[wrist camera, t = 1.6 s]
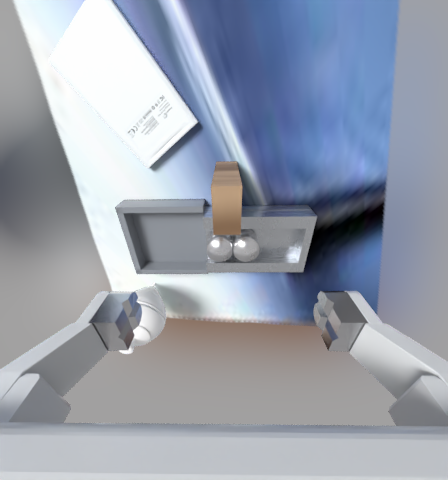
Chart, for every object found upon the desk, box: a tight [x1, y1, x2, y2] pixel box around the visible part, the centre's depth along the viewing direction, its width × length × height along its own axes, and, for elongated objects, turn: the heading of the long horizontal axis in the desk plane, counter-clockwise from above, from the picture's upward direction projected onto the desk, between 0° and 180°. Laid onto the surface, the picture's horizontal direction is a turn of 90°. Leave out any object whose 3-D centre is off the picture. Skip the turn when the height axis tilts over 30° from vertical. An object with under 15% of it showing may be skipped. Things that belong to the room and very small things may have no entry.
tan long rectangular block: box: [211, 162, 242, 235], centre depth 21 cm, size 4×2×10 cm, turn 1°
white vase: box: [119, 283, 166, 354], centre depth 30 cm, size 8×8×12 cm
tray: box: [115, 199, 208, 274], centre depth 29 cm, size 11×11×3 cm
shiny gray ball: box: [207, 231, 233, 262], centre depth 27 cm, size 3×3×3 cm
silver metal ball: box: [233, 229, 260, 262], centre depth 27 cm, size 3×3×3 cm
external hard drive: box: [48, 0, 198, 169], centre depth 21 cm, size 2×8×12 cm
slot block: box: [203, 205, 317, 272], centre depth 28 cm, size 9×14×4 cm, turn 91°
